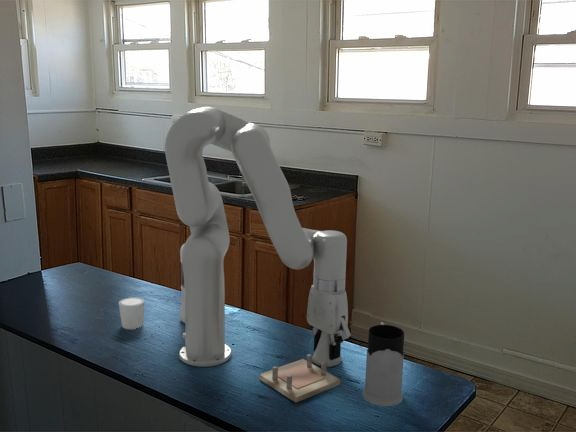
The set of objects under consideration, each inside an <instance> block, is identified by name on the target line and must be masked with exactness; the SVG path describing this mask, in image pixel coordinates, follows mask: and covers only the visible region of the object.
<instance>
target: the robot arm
mask: <svg viewBox="0 0 576 432" xmlns="http://www.w3.org/2000/svg"><path fill="white" fill-rule="evenodd" d="M208 145H214V146H216V147H219V148H221V149H223V150H226V151H229V152H230V153H231V155H232V156H233V158H234V160H235V162H236V164H237V167H238V169H239V171H240V172H241V175H242V176H243V178H244V179H243V180H244V181H245V182H246V185H247V186H248V189H249V191H250V193H251V195H252V197H253V199H254V201H255V203H256V207H257V209H258V212H259V214H260V216H261V219H262V222H263V225H264V227H265V230H266V232H267V234H268V236H269V239H270V241H271V243H272V245H273V247H274V249H275V250H276V253H277V254H278V256H279V258H280V260H281V262H282V263H283V264H284V265H285V266H286V267H288V268H290V269H292V270H301V269H302V270H303V269H305V268H306V267H309V265H310V264H311V263H312V260H313V273H312V277H313V282H312V283H313V284H311V285H310V286H311V287H310V289H309V295H308V299H307V301H308V302H307V309H306V310H307V311H306V316H305V317H306V322H307V323H308V324H309V326H310V329H311V330H312V332H311V333H312V336H313V351H314V352H315V350H316V348H317V345H318V343H319V340H320V337H321V333H322V331H324V332H326V333H328V334H330V337H331V343H332V344H330V345H329V359H330V360H334V359H336V358H339V357H340V355H341V345H342V343H343V342H344V341H345V340H346V339H348V338H351V336H352V334H351V332H350V329H349V327H348V324H349V323H348V322H349V308H348V307H349V305H348V296H347V291H346V278H347V277H346V274H347V273H346V272H347V251H348V250H347V248H348V239H347V236H346V234H345V233H343V232H341V231H338V230H329V229H328V230H317V229H310V228H306V227H302V225H301V222H300V221H299V218H298V215H297V213H296V210H295V207H294V202H293V198H292V192H291V188H290V186H289V183H288V181H287V178H286V177H285V174H284V173H283V170H282V168H281V167H280V165H279V162H278V161H277V157H276V156H275V154H274V152H273V150H272V147H271V140H270V135H269V133H268V132H267V130H265V128H264V127H262V126H260V125H258V124H256V123H253V122H250V121H249V120H245V119H243V118H241V117H238V116H236V115H234V114H231V113H229V112H226V111H224V110H221V109H220V108H219V109H218V108H217V107H213V106H203V107H196V108H193V109H191V110H189V111H187V112H185V113H184V114H183V115H181V116H180V117H179V118H177V120H175V122H174V123H173V124H172V125H171V126H170V128H169V130H168V132H167V134H166V137H165V143H164V153H165V159H166V164H167V171H168V173H169V179H170V185H171V188H172V189H171V190H172V195H173V199H174V205H175V210H176V213H177V216H178V218H179V219H180V220H179V221H181V222H182V224H184V225H186V226H188V227H189V229H190V235H189V236H188V237H187V239H186V240H185V243H183V244H184V247H183V250H182V266H183V273H184V290H185V323H184V324H185V325H184V326H185V327H184V329H185V332H183V333H182V334H181V337H182V338H183V339H184V340H185V341H184V342H185V345H184V346H183V347H181V349H180V350H179V355H178V356H179V359H180V361H182V362H183V363H184V364H187V365H190V366H194V367H200V368H201V367H204V368H205V367H214V366H218V365H221V364H223V363H225V362H227V361H228V360H229V359H230V358H231V357H232V349H231V347H230V345H227V344H226V329H225V327H226V323H225V322H226V321H225V320H226V319H225V318H226V313H225V312H226V310H225V309H226V308H225V306H226V305H225V303H226V302H225V297H226V294H225V272H224V271H225V270H224V259H225V256H226V253H227V252H228V250H229V247H230V243H231V242H230V241H231V239H230V238H231V237H230V231H229V227H228V221H227V216H226V212H225V211H226V210H225V207H224V202H223V198H222V195H221V192H220V190H219V188H217V186H216V185H215V184H213V183H212V182H210V181H209V178H208V177H209V176H208V172H207V165H206V163H205V162H206V161H205V159H204V156H203V155H204V154H203V150H204V148H206V147H207V146H208ZM336 336H337V337H336Z"/></svg>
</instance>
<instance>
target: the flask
mask: <svg viewBox="0 0 576 432" xmlns="http://www.w3.org/2000/svg"><path fill="white" fill-rule="evenodd" d="M330 344H332V343H331V337H330V334H328V333H326V332H324V331H322V333H321V337H320V340H319V343H318V345H317V348H316V350H315V351H314V353H313V355H312V363H313V364H314V365H316V366H321V363H322V362H326V363H327V368H333V367H335V366H339V365H340V363H341V362H342V360H343V359H342V355H341V354H340V357H339V358H336V359H334V360H330V359H329V345H330Z"/></svg>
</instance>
